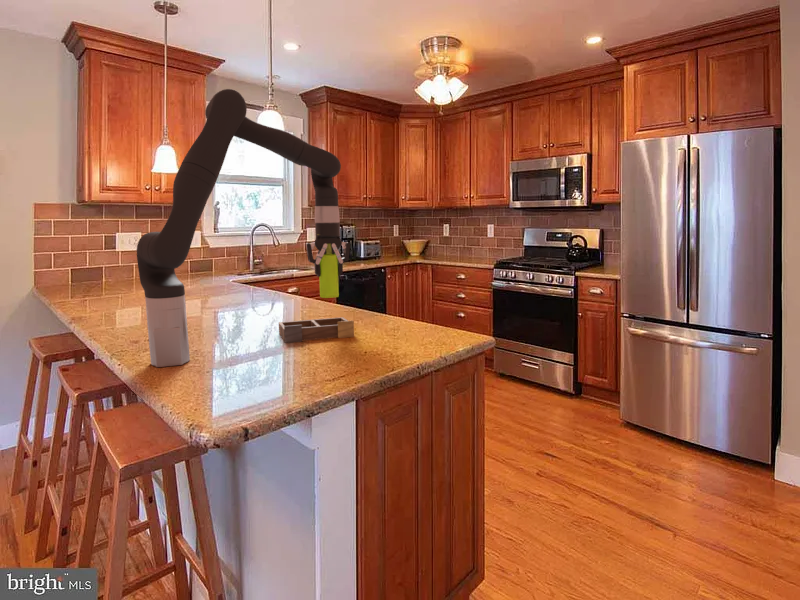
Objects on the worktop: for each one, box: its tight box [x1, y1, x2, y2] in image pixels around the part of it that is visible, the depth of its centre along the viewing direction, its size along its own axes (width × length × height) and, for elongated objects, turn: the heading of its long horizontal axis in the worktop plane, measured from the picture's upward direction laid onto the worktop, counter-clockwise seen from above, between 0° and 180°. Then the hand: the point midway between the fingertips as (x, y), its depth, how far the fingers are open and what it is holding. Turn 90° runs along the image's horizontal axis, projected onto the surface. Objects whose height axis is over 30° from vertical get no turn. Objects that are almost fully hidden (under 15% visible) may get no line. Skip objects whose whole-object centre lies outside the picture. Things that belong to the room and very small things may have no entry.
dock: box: [278, 316, 355, 344], centre depth 162 cm, size 13×21×5 cm, turn 111°
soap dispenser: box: [317, 234, 340, 299], centre depth 161 cm, size 6×7×20 cm
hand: (329, 275), depth 162 cm, fingers closed on soap dispenser, 6 cm apart
